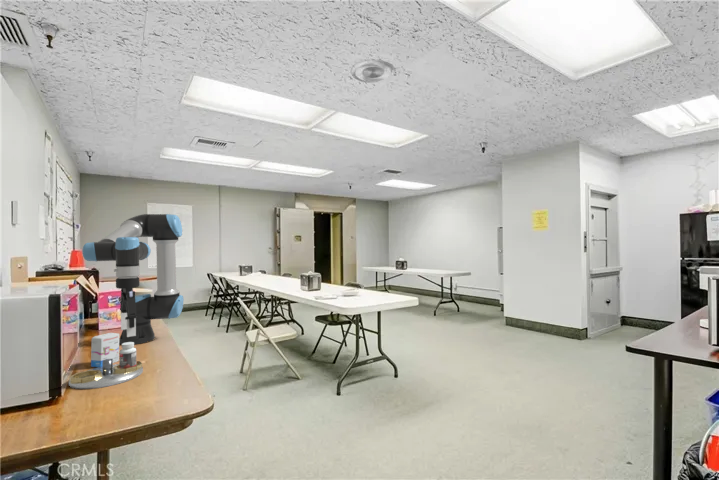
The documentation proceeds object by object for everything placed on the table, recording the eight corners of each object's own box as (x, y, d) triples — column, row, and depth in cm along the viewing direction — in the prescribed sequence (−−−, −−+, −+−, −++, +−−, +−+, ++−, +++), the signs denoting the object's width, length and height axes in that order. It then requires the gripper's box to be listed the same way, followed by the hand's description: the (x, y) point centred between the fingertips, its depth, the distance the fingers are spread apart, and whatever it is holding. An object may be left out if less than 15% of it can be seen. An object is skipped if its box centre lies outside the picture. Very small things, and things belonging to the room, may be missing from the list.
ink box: (100, 367, 137) (100, 337, 138) (90, 367, 138) (90, 337, 139) (119, 360, 146) (119, 332, 146) (109, 360, 147) (109, 332, 147)
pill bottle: (116, 371, 129) (116, 345, 130) (125, 366, 135) (125, 341, 135) (130, 371, 130) (130, 345, 130) (139, 366, 135) (139, 341, 135)
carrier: (98, 367, 138) (98, 351, 138) (154, 365, 139) (154, 350, 139) (51, 390, 116) (51, 371, 116) (118, 388, 117) (118, 369, 117)
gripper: (111, 275, 139) (111, 328, 140) (121, 280, 121) (121, 341, 121) (133, 274, 144) (133, 325, 145) (145, 279, 126) (146, 337, 126)
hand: (128, 332), depth 133 cm, fingers open, 13 cm apart
